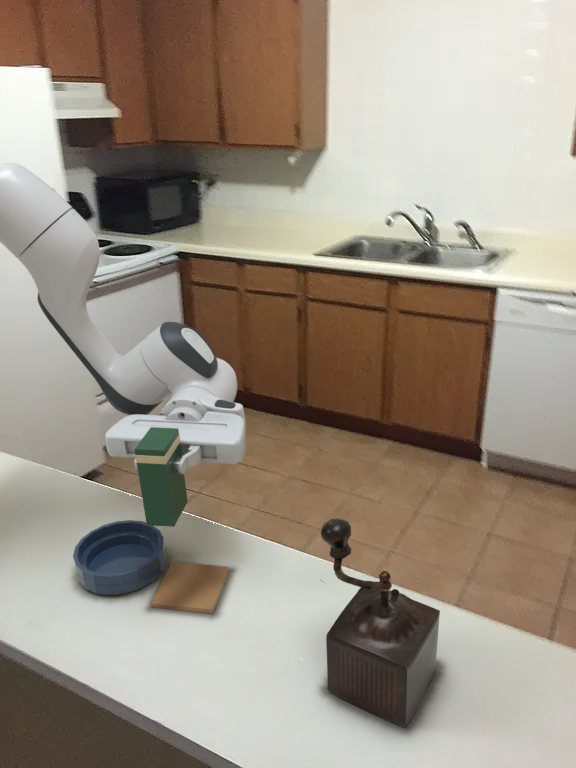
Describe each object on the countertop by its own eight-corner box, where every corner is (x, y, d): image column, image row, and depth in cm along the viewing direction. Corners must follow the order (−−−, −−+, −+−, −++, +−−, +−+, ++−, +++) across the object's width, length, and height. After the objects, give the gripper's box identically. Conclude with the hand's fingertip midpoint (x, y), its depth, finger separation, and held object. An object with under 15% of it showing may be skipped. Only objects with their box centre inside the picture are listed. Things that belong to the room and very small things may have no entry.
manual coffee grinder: (440, 663, 83) (450, 546, 76) (406, 731, 75) (413, 607, 67) (331, 618, 91) (330, 508, 84) (288, 675, 83) (283, 558, 75)
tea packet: (145, 525, 91) (133, 449, 86) (161, 499, 97) (150, 426, 92) (174, 527, 90) (163, 450, 86) (188, 501, 96) (179, 428, 91)
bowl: (62, 593, 97) (57, 571, 96) (100, 537, 109) (97, 517, 108) (147, 602, 95) (144, 580, 93) (177, 544, 107) (175, 523, 105)
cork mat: (151, 607, 94) (150, 602, 94) (172, 565, 102) (172, 561, 102) (212, 613, 93) (212, 609, 92) (229, 571, 101) (229, 566, 100)
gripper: (123, 399, 102) (82, 443, 90) (253, 404, 99) (229, 452, 86) (129, 435, 105) (90, 483, 93) (255, 442, 101) (233, 493, 89)
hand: (158, 468), depth 89 cm, fingers closed on tea packet, 4 cm apart
